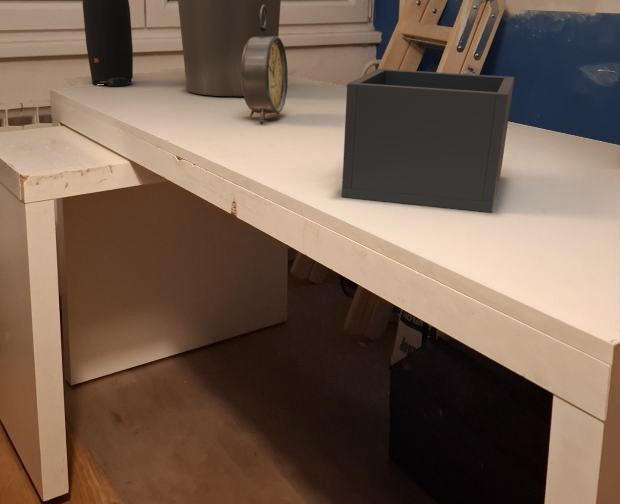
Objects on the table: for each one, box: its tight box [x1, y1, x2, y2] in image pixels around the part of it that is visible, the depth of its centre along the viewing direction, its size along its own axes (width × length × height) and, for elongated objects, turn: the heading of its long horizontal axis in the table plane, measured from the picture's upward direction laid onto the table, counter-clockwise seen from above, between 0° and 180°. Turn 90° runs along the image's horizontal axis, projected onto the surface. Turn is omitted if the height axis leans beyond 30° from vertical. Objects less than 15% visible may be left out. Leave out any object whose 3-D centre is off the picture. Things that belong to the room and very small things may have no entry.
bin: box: [341, 68, 515, 213], centre depth 79 cm, size 15×15×11 cm
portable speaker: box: [82, 0, 134, 87], centre depth 144 cm, size 9×9×20 cm
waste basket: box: [177, 0, 282, 97], centre depth 138 cm, size 27×20×30 cm
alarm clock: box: [240, 5, 289, 125], centre depth 114 cm, size 11×5×16 cm, turn 166°
